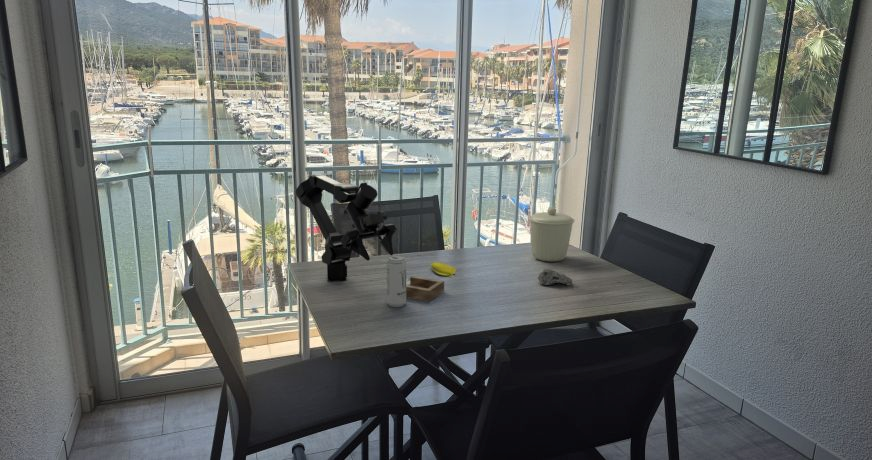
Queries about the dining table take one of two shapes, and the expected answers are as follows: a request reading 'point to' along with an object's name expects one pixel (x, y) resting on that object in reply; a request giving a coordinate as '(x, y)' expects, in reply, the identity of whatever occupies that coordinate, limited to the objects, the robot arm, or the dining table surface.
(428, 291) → the wooden tray
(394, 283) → the energy drink can
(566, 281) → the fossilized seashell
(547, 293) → the dining table surface
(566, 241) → the canister
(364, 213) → the robot arm
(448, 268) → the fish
